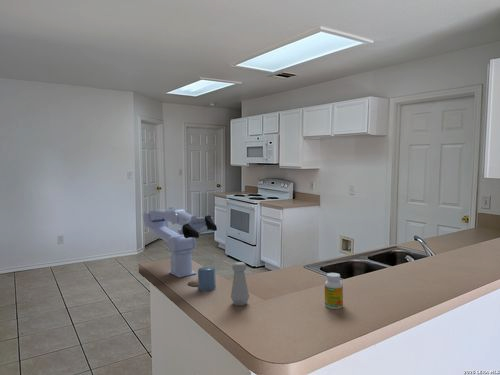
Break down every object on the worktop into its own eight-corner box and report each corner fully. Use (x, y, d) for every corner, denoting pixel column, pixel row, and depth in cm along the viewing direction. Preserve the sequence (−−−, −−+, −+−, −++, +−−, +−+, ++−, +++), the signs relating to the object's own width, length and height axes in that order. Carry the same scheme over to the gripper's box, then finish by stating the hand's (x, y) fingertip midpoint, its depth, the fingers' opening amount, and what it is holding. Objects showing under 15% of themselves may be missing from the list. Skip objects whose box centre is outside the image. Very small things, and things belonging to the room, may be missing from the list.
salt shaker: (247, 307, 108) (246, 265, 107) (229, 306, 109) (227, 265, 109) (251, 300, 114) (249, 260, 113) (233, 299, 115) (232, 260, 114)
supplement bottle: (325, 309, 105) (325, 277, 105) (324, 302, 110) (323, 271, 110) (344, 309, 104) (343, 277, 104) (341, 302, 110) (341, 272, 109)
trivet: (184, 283, 133) (184, 282, 133) (200, 279, 138) (200, 278, 138) (193, 287, 128) (193, 286, 128) (210, 283, 132) (210, 282, 132)
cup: (196, 287, 128) (195, 268, 127) (209, 284, 131) (209, 265, 131) (204, 291, 123) (203, 272, 123) (218, 288, 127) (217, 268, 126)
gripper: (170, 218, 134) (187, 228, 123) (203, 207, 142) (221, 215, 131) (174, 235, 136) (190, 246, 126) (206, 223, 144) (224, 232, 134)
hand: (207, 231), depth 129 cm, fingers open, 7 cm apart
